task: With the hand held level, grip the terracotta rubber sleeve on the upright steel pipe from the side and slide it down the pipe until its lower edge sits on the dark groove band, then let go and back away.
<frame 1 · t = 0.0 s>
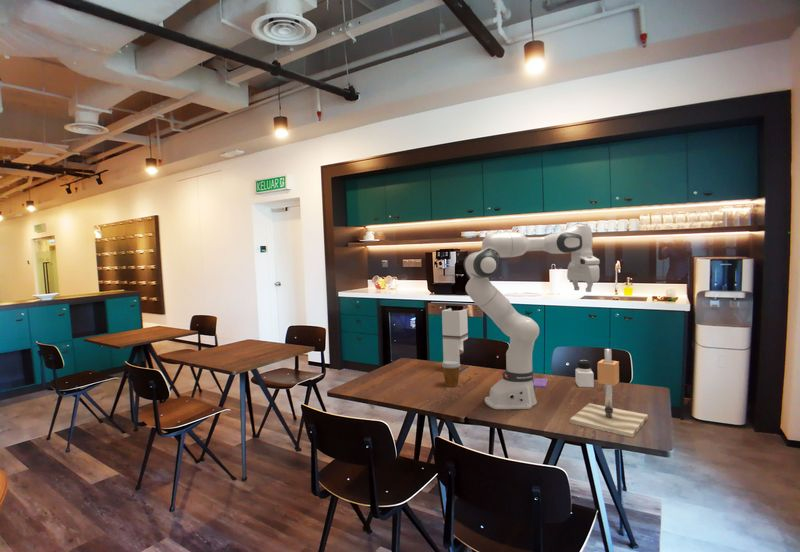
hand: (582, 291, 192), 48 cm above the table, tool pointing down, fingers open, 8 cm apart
sponges: (539, 385, 215), on the table
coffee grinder: (456, 370, 245), on the table
medicine bottle: (584, 385, 211), on the table
sleeve: (608, 372, 165), point 19 cm above the table, slide at 10.0 cm
pipe stand: (608, 420, 166), on the table
steel pipe: (608, 383, 165), on the pipe stand, point 15 cm above the table
disposable coffee cup: (451, 385, 218), on the table
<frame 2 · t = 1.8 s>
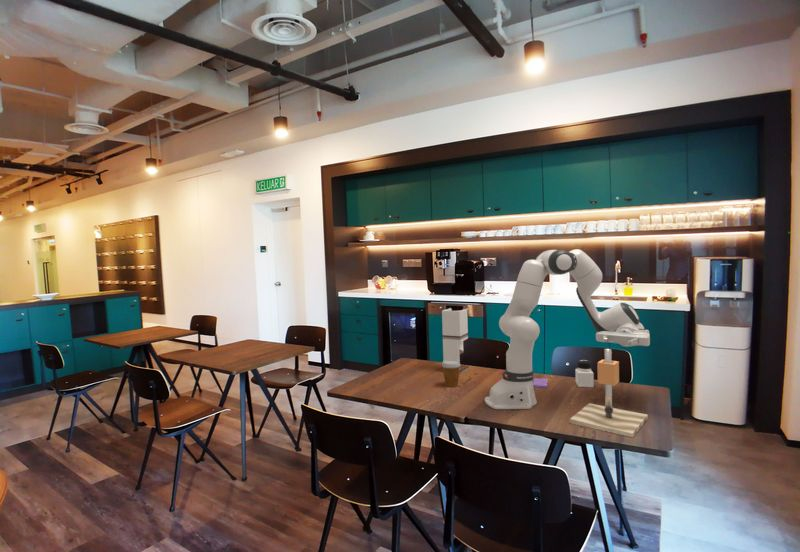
hand: (617, 341, 173), 29 cm above the table, tool horizontal, fingers open, 8 cm apart
nothing on the table moved.
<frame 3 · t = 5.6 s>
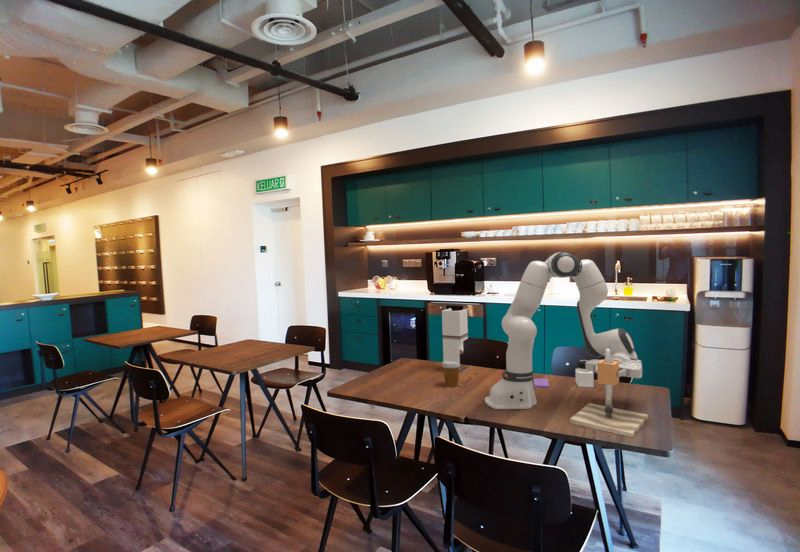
hand: (607, 372, 164), 19 cm above the table, tool horizontal, fingers closed on sleeve, 6 cm apart
sleeve: (608, 372, 165), point 19 cm above the table, slide at 10.0 cm, touching gripper
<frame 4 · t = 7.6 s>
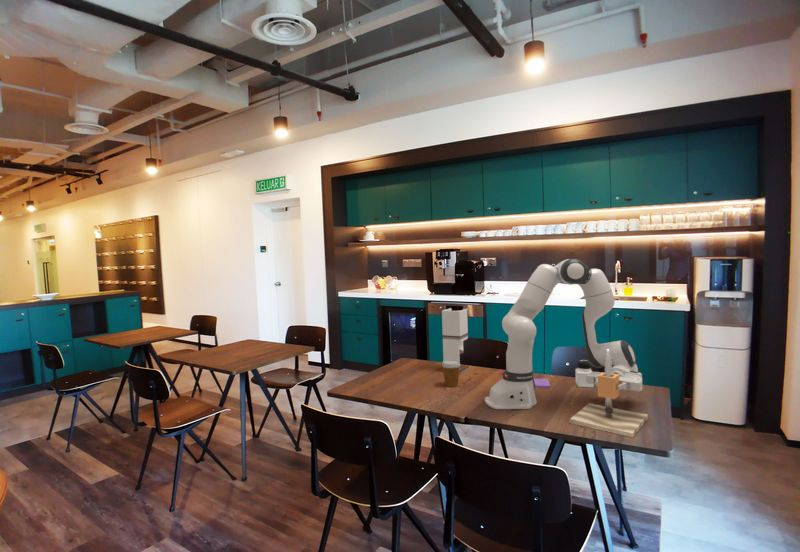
hand: (607, 386, 164), 14 cm above the table, tool horizontal, fingers closed on sleeve, 6 cm apart
sleeve: (608, 385, 165), point 14 cm above the table, slide at 4.9 cm, touching gripper
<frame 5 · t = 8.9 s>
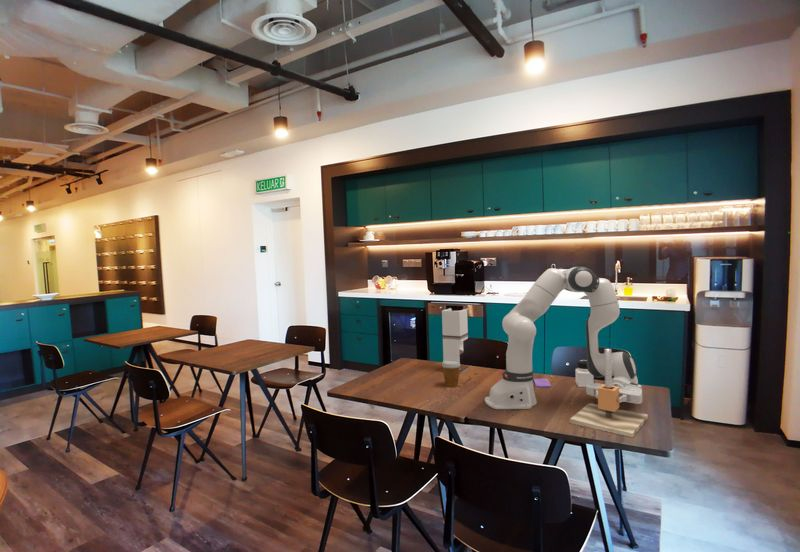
hand: (607, 398, 165), 9 cm above the table, tool horizontal, fingers closed on sleeve, 6 cm apart
sleeve: (608, 397, 165), point 9 cm above the table, slide at 0.0 cm, touching gripper
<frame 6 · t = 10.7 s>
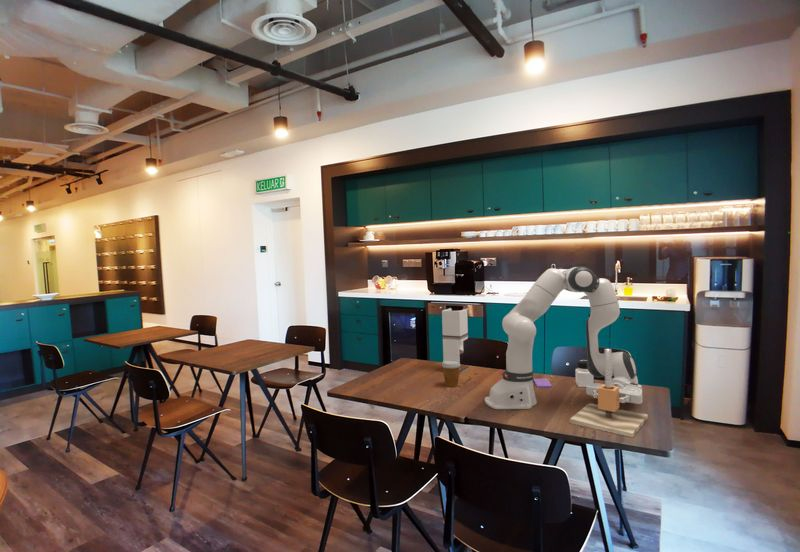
hand: (608, 398, 165), 9 cm above the table, tool horizontal, fingers open, 8 cm apart
sleeve: (608, 397, 165), point 9 cm above the table, slide at 0.0 cm
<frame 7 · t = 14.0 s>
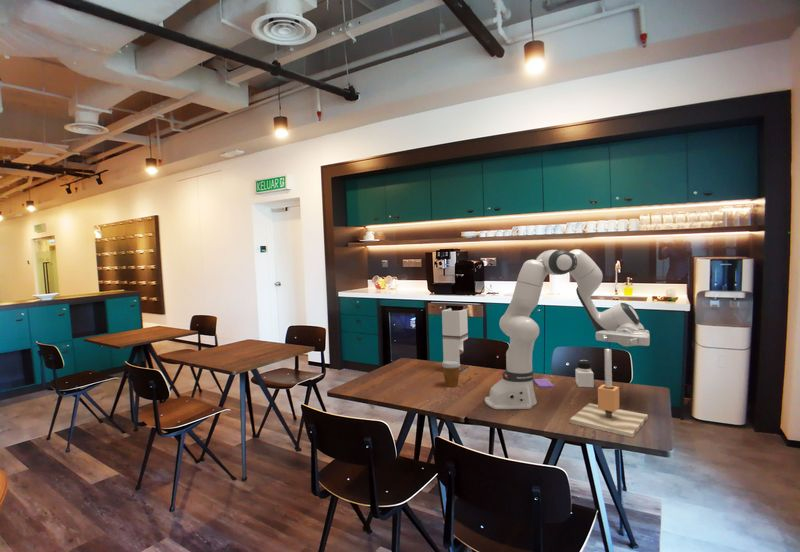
hand: (617, 340, 173), 29 cm above the table, tool horizontal, fingers open, 8 cm apart
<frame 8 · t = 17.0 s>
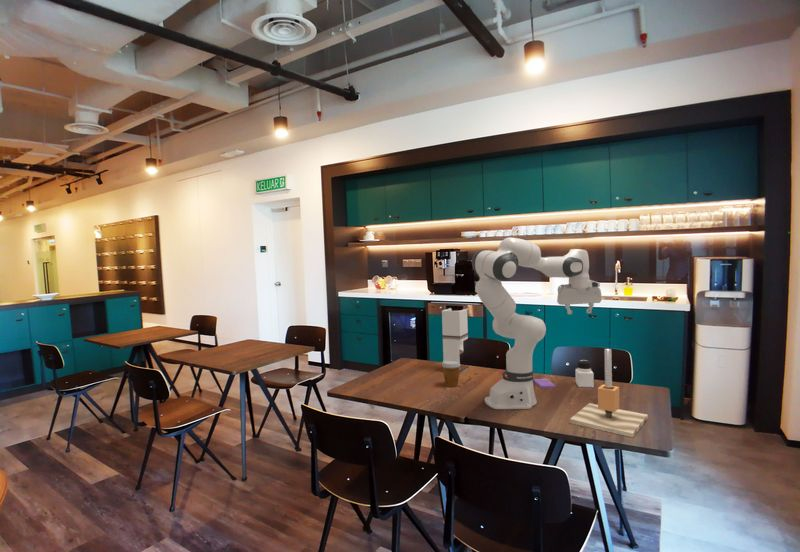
hand: (579, 313, 198), 37 cm above the table, tool pointing down, fingers open, 8 cm apart
at the end: sleeve slide at 0.0 cm; the gripper is holding nothing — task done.
